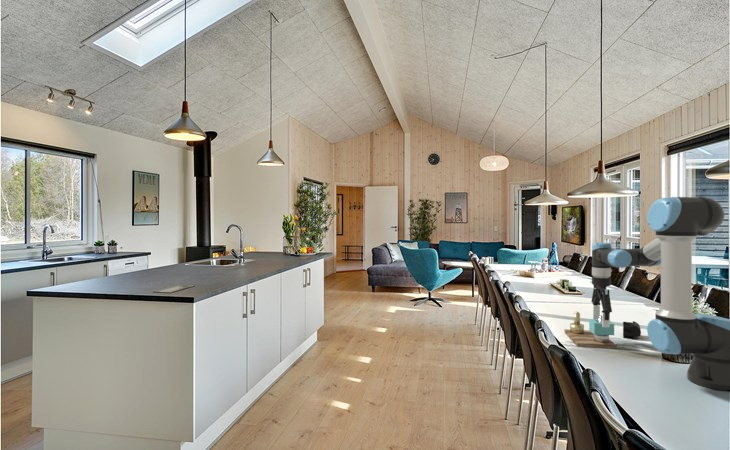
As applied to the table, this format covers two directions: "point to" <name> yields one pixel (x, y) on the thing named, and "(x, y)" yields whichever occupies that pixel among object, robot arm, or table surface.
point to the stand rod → (601, 337)
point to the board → (588, 340)
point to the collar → (600, 328)
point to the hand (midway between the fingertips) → (600, 323)
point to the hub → (576, 325)
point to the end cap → (631, 330)
